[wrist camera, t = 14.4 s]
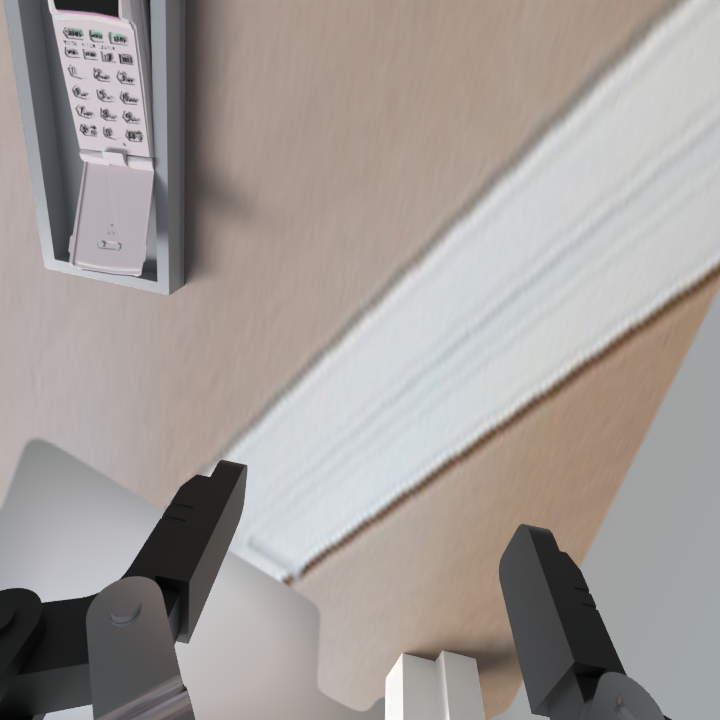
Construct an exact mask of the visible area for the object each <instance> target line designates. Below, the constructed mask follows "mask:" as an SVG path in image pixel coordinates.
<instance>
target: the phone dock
mask: <svg viewBox="0 0 720 720" xmlns="http://www.w3.org/2000/svg"><path fill="white" fill-rule="evenodd" d="M3 1H4V7H5V14H6V20H7V26H8V33H9V39H10V46H11V52H12V59H13V65H14V72H15V78H16V85H17V91H18V98H19V104H20V111H21V117H22V123H23V130H24V136H25V143H26V149H27V156H28V162H29V169H30V175H31V182H32V188H33V195H34V201H35V208H36V214H37V221H38V227H39V233H40V240H41V246H42V253H43V259H44V266H45V268H46V269H51V270H56V271H60V272H65V273H69V274H74V275H78V276H83V277H87V278H92V279H97V280H101V281H106V282H110V283H115V284H119V285H124V286H128V287H133V288H138V289H142V290H147V291H151V292H156V293H160V294H165V295H170V294H172V293H174V292H175V291H177V290H178V289H180V288H181V287H183V286H184V272H185V100H186V0H148V8H149V18H150V27H151V45H152V84H153V123H154V162H155V177H154V186H153V194H152V203H151V212H150V221H149V230H148V238H147V244H146V245H147V253H146V260H145V262H143V268H142V274H141V275H140V276H123V275H112V274H106V273H99V272H93V271H87V270H82V269H78V268H76V267H73V266H71V265H70V263H69V259H70V253H69V251H68V250H69V242H70V236H71V235H73V230H74V224H75V218H76V211H77V205H78V199H79V193H80V186H81V180H82V174H83V168H84V161H83V160H82V159H81V157H80V154H79V153H80V151H81V149H80V147H79V142H78V138H77V133H76V128H75V124H74V119H73V114H72V110H71V105H70V101H69V96H68V91H67V87H66V82H65V78H64V73H63V68H62V64H61V60H60V55H59V49H58V44H57V39H56V34H55V29H54V24H53V19H52V14H51V13H50V11H49V5H48V0H3Z"/></svg>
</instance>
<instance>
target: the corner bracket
mask: <svg viewBox="0 0 720 720" xmlns="http://www.w3.org/2000/svg"><path fill="white" fill-rule="evenodd" d="M385 720H485V714H484V708H483V702H482V695H481V689H480V682H479V676H478V670H477V663H476V659H474V658H471V657H467V656H463V655H459V654H455V653H451V652H448V651H444V650H443V651H442V652H441V654H440V655H439V656H438V658H437V659H436V661H431V660H427V659H423V658H420V657H416V656H412V655H408V654H404V653H402V654H401V656H400V658H399V659H398V661H397V662H396V664H395V665H394V667H393V668H392V670H391V671H390V673H389V674H388V676H387V677H386V696H385Z"/></svg>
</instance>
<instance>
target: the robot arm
mask: <svg viewBox="0 0 720 720" xmlns="http://www.w3.org/2000/svg"><path fill="white" fill-rule="evenodd" d="M246 478H247V465H244V464H239V463H234V462H230V461H225V460H220V461H219V463H218V464H217V466H216V468H215V470H214V472H213V473H212V475H211V477H206V476H202V475H196V476H194V477H193V478H192V479H190V480H189V481H188V482H186V483H185V484H184V485H182V486H181V487H180V489H179V490H178V492H177V493H176V495H175V497H174V498H173V500H172V501H171V504H170V506H168V508H167V509H166V511H165V512H164V514H163V516H162V519H160V520H159V522H158V523H157V525H156V527H155V528H154V530H153V531H152V533H151V534H150V536H149V538H148V539H147V541H146V542H145V544H144V546H143V547H142V549H141V550H140V552H139V553H138V555H137V557H136V558H135V560H134V561H133V563H132V565H131V566H130V568H129V569H128V570H127V572H126V573H125V574H124V575H123V576H122V578H121V579H119V580H118V581H116V582H114V583H112V584H110V585H109V586H107V587H106V588H104V589H103V590H102V591H101V592H99V593H97V594H94V595H91V596H88V597H83V598H77V599H69V600H61V601H53V602H45V603H41V600H40V598H39V597H38V595H37V594H36V593H34V592H33V591H30V590H28V589H24V588H12V589H6V590H2V591H0V720H43V718H44V716H45V715H46V713H50V712H55V711H60V710H65V709H70V708H75V707H80V706H85V705H91V704H92V706H93V717H94V720H195V717H194V712H193V709H192V704H191V700H190V697H189V694H188V691H187V688H186V687H185V686H184V684H183V681H182V678H181V674H180V669H179V665H178V661H177V656H176V652H175V647H174V645H175V643H176V641H178V642H183V643H189V641H190V638H191V636H192V633H193V631H194V629H195V626H196V624H197V622H198V619H199V617H200V614H201V612H202V609H203V607H204V605H205V602H206V600H207V598H208V595H209V593H210V591H211V588H212V586H213V583H214V581H215V579H216V576H217V574H218V571H219V569H220V566H221V564H222V561H223V559H224V557H225V555H226V552H227V550H228V547H229V545H230V543H231V540H232V538H233V535H234V533H235V531H236V528H237V526H238V523H239V520H240V517H241V514H242V510H243V505H244V498H245V488H246ZM499 579H500V583H501V587H502V592H503V596H504V600H505V604H506V608H507V612H508V617H509V621H510V625H511V629H512V633H513V637H514V642H515V646H516V650H517V654H518V658H519V662H520V667H521V671H522V675H523V679H524V683H525V687H526V691H527V696H528V700H529V704H530V708H531V712H532V714H537V715H542V716H547V717H550V720H671V719H669V718H668V717H666V716H664V715H663V714H662V712H661V710H660V708H659V706H658V705H657V703H656V702H655V701H654V699H653V698H652V697H651V696H650V694H649V693H648V692H647V691H646V690H645V689H644V688H643V687H642V686H641V685H639V684H638V683H637V682H636V681H634V680H633V679H631V678H629V677H628V676H627V675H626V673H625V671H624V669H623V666H622V664H621V662H620V660H619V657H618V655H617V653H616V650H615V648H614V646H613V644H612V641H611V639H610V637H609V634H608V632H607V630H606V627H605V625H604V623H603V621H602V618H601V616H600V614H599V612H598V610H596V605H595V602H594V600H593V598H592V595H591V594H589V589H588V586H587V584H586V582H585V579H584V577H583V575H582V572H581V570H580V569H579V568H578V567H577V565H576V564H575V563H574V562H573V560H572V559H571V558H570V557H569V555H568V554H567V553H565V552H561V551H559V548H558V546H557V543H556V541H555V538H554V536H553V534H552V532H551V531H550V530H548V529H544V528H539V527H535V526H530V525H525V524H521V525H520V526H519V527H518V528H517V530H516V532H515V534H514V535H513V537H512V539H511V541H510V543H509V544H508V546H507V548H506V550H505V552H504V553H503V555H502V557H501V560H500V565H499Z"/></svg>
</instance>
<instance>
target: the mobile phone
mask: <svg viewBox="0 0 720 720" xmlns="http://www.w3.org/2000/svg"><path fill="white" fill-rule="evenodd" d="M48 5H49V11H50V13H51V14H52V19H53V24H54V29H55V34H56V39H57V44H58V49H59V55H60V60H61V64H62V68H63V73H64V78H65V82H66V87H67V91H68V96H69V101H70V105H71V110H72V114H73V119H74V124H75V128H76V133H77V138H78V142H79V147H80V149H81V151H80V153H79V154H80V157H81V159H82V160H83V161H84V168H83V174H82V180H81V186H80V193H79V199H78V205H77V211H76V218H75V224H74V230H73V235H71V236H70V242H69V250H68V251H69V253H70V259H69V263H70V265H71V266H73V267H76V268H78V269H82V270H87V271H93V272H99V273H106V274H112V275H123V276H140V275H141V274H142V268H143V262H145V260H146V253H147V245H146V244H147V238H148V230H149V221H150V212H151V203H152V194H153V186H154V177H155V162H154V123H153V84H152V45H151V27H150V18H149V8H148V0H48Z"/></svg>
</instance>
